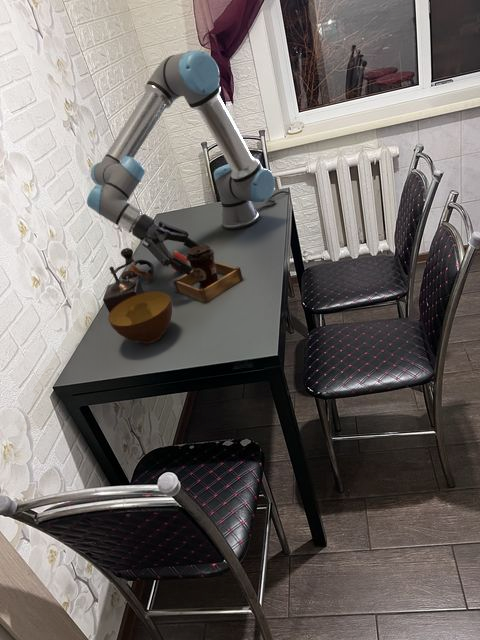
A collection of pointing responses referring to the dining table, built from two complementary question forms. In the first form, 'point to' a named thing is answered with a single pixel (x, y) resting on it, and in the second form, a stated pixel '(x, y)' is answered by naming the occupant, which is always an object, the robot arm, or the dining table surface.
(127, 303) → the bowl
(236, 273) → the wooden frame
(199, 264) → the coffee cup
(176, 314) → the dining table surface
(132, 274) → the pottery mug
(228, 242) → the dining table surface
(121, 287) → the manual coffee grinder
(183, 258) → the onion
